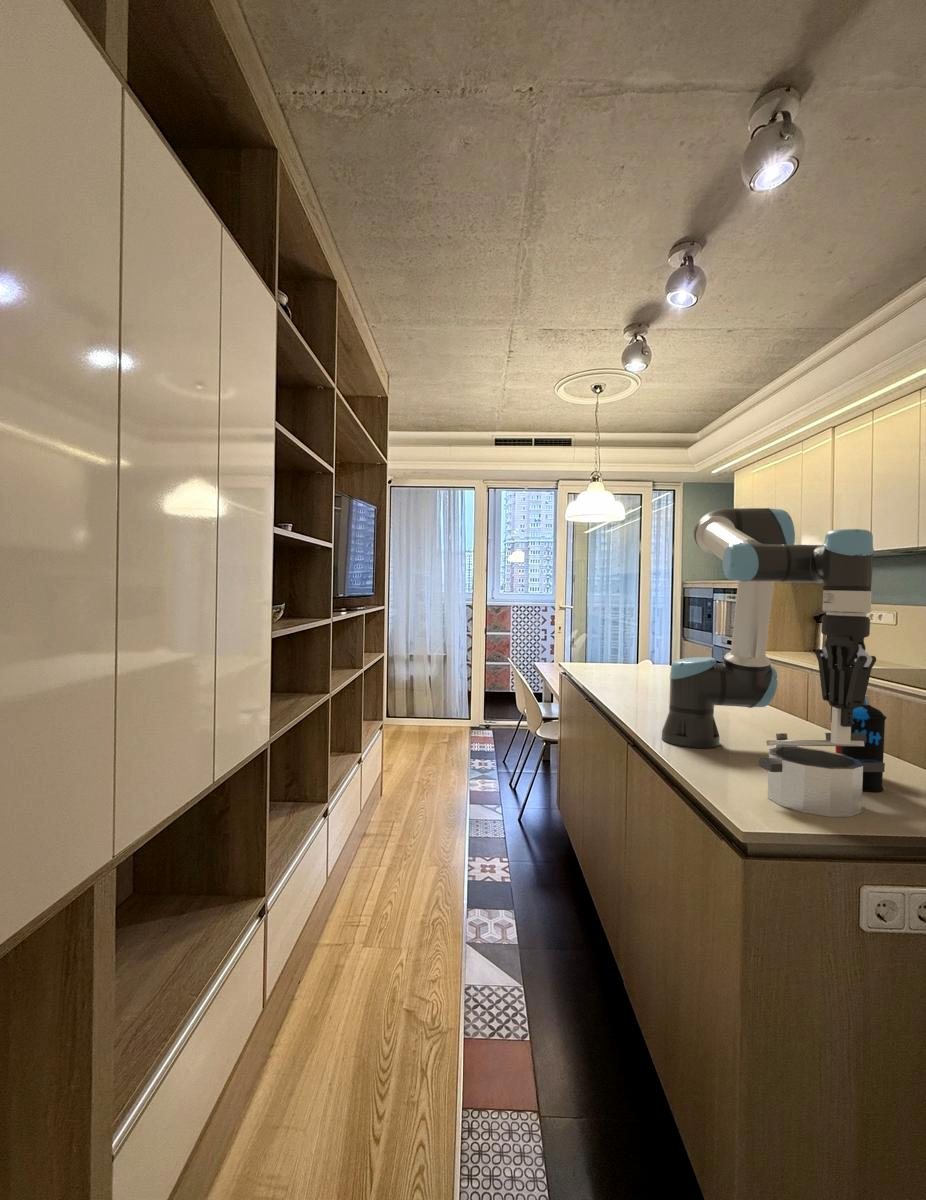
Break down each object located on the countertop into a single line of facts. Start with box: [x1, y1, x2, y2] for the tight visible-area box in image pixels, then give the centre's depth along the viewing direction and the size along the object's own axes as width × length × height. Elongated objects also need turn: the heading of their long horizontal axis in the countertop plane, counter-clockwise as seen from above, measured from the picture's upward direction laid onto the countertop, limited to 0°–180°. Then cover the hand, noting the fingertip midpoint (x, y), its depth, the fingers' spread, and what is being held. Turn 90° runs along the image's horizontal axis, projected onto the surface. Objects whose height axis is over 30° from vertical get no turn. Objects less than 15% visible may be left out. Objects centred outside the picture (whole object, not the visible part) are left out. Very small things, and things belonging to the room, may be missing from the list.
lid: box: [765, 732, 867, 747], centre depth 122 cm, size 17×19×3 cm
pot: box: [758, 746, 886, 818], centre depth 122 cm, size 18×24×9 cm
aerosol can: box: [841, 694, 887, 793], centre depth 133 cm, size 8×8×20 cm
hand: (840, 742), depth 111 cm, fingers closed
